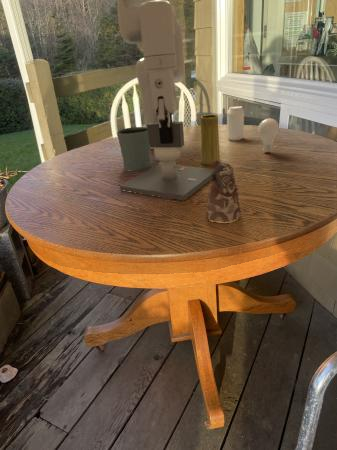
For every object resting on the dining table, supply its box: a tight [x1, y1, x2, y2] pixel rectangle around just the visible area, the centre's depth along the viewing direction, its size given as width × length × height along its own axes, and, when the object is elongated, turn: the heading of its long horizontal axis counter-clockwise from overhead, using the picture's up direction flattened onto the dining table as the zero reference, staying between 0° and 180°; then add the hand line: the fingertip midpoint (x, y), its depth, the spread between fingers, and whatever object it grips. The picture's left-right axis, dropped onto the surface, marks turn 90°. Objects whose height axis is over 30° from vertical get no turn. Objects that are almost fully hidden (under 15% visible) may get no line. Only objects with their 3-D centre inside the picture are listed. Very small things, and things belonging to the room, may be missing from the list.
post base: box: [119, 159, 214, 202], centre depth 89 cm, size 20×20×7 cm
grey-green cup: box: [116, 126, 151, 172], centre depth 103 cm, size 10×10×12 cm
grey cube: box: [147, 121, 185, 162], centre depth 85 cm, size 9×9×9 cm
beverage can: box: [226, 105, 245, 142], centre depth 123 cm, size 6×6×12 cm
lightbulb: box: [257, 117, 280, 154], centre depth 104 cm, size 6×6×11 cm
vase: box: [200, 114, 221, 166], centre depth 100 cm, size 6×6×14 cm
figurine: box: [205, 160, 241, 222], centre depth 66 cm, size 7×7×12 cm
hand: (167, 140), depth 85 cm, fingers closed on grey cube, 3 cm apart
